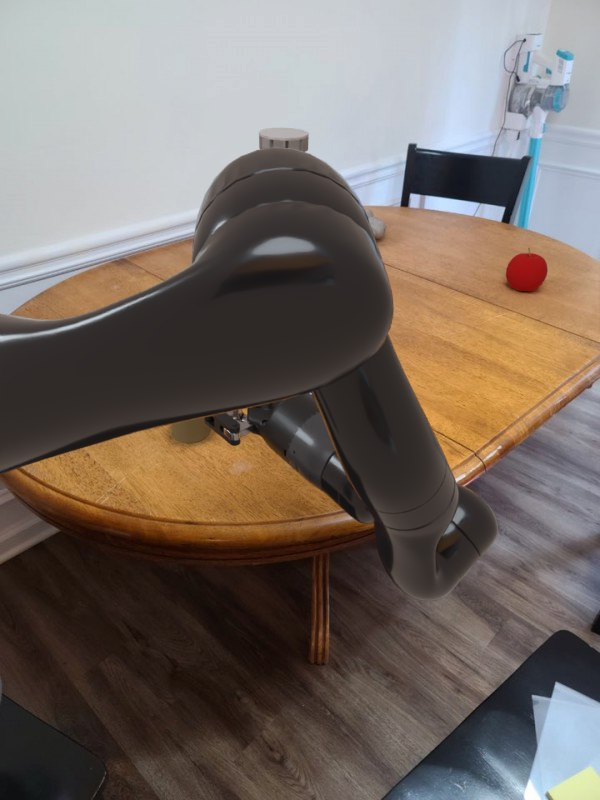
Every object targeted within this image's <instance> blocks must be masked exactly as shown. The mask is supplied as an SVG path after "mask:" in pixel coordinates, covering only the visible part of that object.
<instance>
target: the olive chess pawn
mask: <svg viewBox="0 0 600 800" xmlns="http://www.w3.org/2000/svg"><path fill="white" fill-rule="evenodd" d="M210 432H211V428H210V427H209V426H208V425H206V424H205V423H204V417H203V418H199V419H194V420H189V421H184V422H180V423H175V424H171V435H172V437H173V438H174V440H176V441H177V442H180V443H183V444H195V443H199V442H202V441H203V440H205V439H206V438H207V437H208V436H209V435H210Z"/></svg>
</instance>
